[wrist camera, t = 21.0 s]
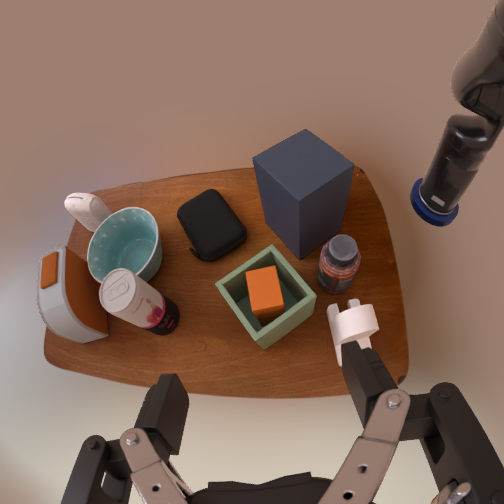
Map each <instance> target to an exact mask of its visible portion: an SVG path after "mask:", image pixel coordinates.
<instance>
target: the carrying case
mask: <svg viewBox="0 0 504 504" xmlns="http://www.w3.org/2000/svg"><path fill="white" fill-rule="evenodd" d="M177 217H178V219H179V220H180V222H181V224H182V226H183V228H184V230H185V231H186V233H187V235H188V237H189V238H190V240H191V242H192V244H193V246H194V247H195V249H196V251H197V253H198V254H199V255H198V254H197V253H196V252H195V251H194V250H193V249H192V248H189V249H190V251H191V252H192V253H193V254H194V255H195V256H196V257H197V258H199V259H201V260H206V261H213V260H216V259H217V258H219V257H220V256H222V255H224V254H225V253H227V252H228V251H230V250H232V249H233V248H235V247H236V246H238V245H240V244H241V243H243V242H244V241H245V240H246V238H247V230H246V228H245V226H244V225H243V224H242V222H241V221H240V220H239V218H238V217H237V216H236V215H235V213H234V212H233V211H232V209H231V208H230V207H229V205H228V204H227V203H226V201H225V200H224V199H223V197H222V196H221V195H220V193H219V192H218V191H217V190H214V189H209V190H206V191H205V192H203V193H201V194H200V195H198V196H196V197H195V198H193V199H191V200H190V201H188V202H186V203H185V204H183V205H182V206H181V207H180V208H179V210H178V212H177Z"/></svg>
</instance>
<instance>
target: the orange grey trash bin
mask: <svg viewBox="0 0 504 504" xmlns="http://www.w3.org/2000/svg"><path fill="white" fill-rule="evenodd" d="M37 282H38V283H37V304H38V308H39V312H40V314H41V317H42V319H43V321H44V323H45V324H46V326H47V327H48V328H49V329H50V330H51V331H52V332H53V333H54V334H56V335H57V336H59V337H62V338H65V339H68V340H71V341H74V342H77V343H80V344H83V343H87V342H90V341H94V340H97V339H100V338H104V337H107V336H109V329H108V321H107V312H106V309H105V308H104V307H103V306H102V304H101V302H100V298H99V291H100V286H101V283H99V282H98V281H97V280H95V279H94V277H93V276H92V275H91V273H90V271H89V268H88V263H87V262H86V261H84V260H83V259H82V258H80V257H79V256H78V255H76V254H75V253H74V252H73V251H71V250H70V249H69V248H67V247H66V246H65V245H60V246H58V247H56V248H54V249H52V250H50V251H48V252H47V253H45V254H44V255H43V256H42V257H41V259H40V262H39V268H38V281H37Z"/></svg>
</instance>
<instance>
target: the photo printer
mask: <svg viewBox="0 0 504 504" xmlns="http://www.w3.org/2000/svg"><path fill="white" fill-rule="evenodd" d="M65 207H66V209H67V210H68V211H69V212H70V213H71V214H72V215H73V216H74V217H75V218H76V219H77V220H78V221H79V222H80V223H81V224H82V225H83V226H85V227H86V228H87V229H88V230H89V231H91V232H95V231H96V230H97V228H98V227H99V226H100V225H101V223H102V222H103V221H104V220H105V219H107V218H108V217H109V216H110V215H112V214H113V213H112V212H111V211H110V209H109V208H108V207H107V206H106V205H105V204H104V203H103V202H102V200H101V199H100V198H99V197H97V196H95V195H92V194H88V193H73V194H70V195H69V196H68V197H67V199H66V200H65Z"/></svg>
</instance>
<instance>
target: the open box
mask: <svg viewBox="0 0 504 504" xmlns="http://www.w3.org/2000/svg"><path fill="white" fill-rule="evenodd" d="M270 266H276V270H277V275H278V279H279V284H280V288H281V293H282V297H283V302H284V307H285V313H284V314H282V315H281V316H279V317H278V318H277V319H275V320H274V321H273V322H271V323H270V324H268V325H267V326H263V327H262V326H261V324H260V323H259V321H258V320H257V318H256V316H255V315H254V313H253V311H252V307H251V302H250V296H249V290H248V285H247V279H246V273H245V272H247V271H252V270H257V269H261V268H266V267H270ZM215 285H216V286H217V288H218V289H219V291H220V292H221V294H222V295H223V297H224V298H225V299H226V301H227V302H228V304H229V305H230V307H231V308H232V310H233V311H234V312H235V314H236V315H237V317H238V318H239V320H240V321H241V322H242V324H243V325H244V327H245V328H246V329H247V331H248V332H249V334H250V335H251V336H252V338H253V339H254V341H255V342H256V343H257V344H258V345H259V346H260V347H261V348H262V349H263V350H265V349H267V348H268V347H269V346H271V345H272V344H274V343H275V342H276V341H278V340H279V339H281V338H282V337H283V336H285V335H286V334H287V333H289V332H290V331H291V330H293V329H294V328H295V327H297V326H298V325H299V324H301V323H302V322H303V321H305V320H306V319H307V318H309V317H310V316H311V315H312V314H313V310H314V306H315V301H316V297H317V295H316V294H315V293H314V292H313V291H312V290H311V288H310V287H309V286H308V285H307V284H306V283H305V281H304V280H303V279H302V278H301V277H300V275H299V274H298V273H297V272H296V271H295V270H294V268H293V267H292V266H291V265H290V264H289V263H288V261H287V260H286V259H285V258H284V257H283V256H282V254H281V253H280V252H279V251H278V250H277V249H276V248H275V246H274V245H273V244H271V245H270V246H268V247H267V248H266V249H264V250H263V251H261V252H260V253H258V254H257V255H256V256H254V257H253V258H251V259H250V260H248V261H247V262H245V263H244V264H243V265H241V266H240V267H238V268H237V269H235V270H234V271H233V272H231V273H230V274H228V275H227V276H225V277H224V278H222V279H221V280H220V281H218V282H217V283H215Z"/></svg>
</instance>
